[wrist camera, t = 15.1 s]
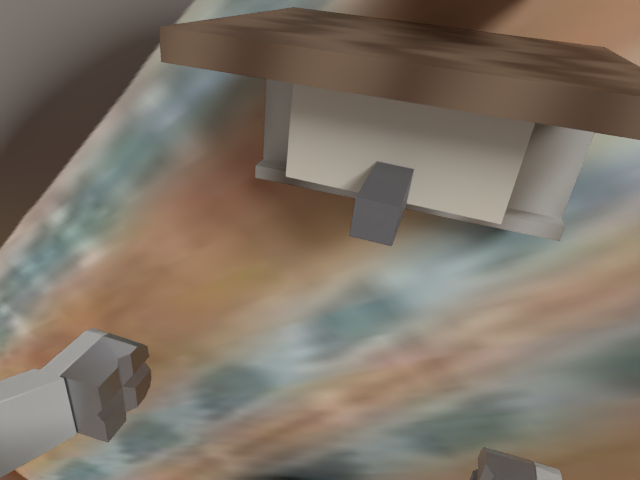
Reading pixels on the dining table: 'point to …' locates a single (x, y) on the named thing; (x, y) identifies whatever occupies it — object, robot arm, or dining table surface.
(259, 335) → the dining table surface
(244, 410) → the dining table surface
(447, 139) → the cabinet
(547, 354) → the dining table surface
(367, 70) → the wood-topped platform
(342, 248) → the dining table surface
